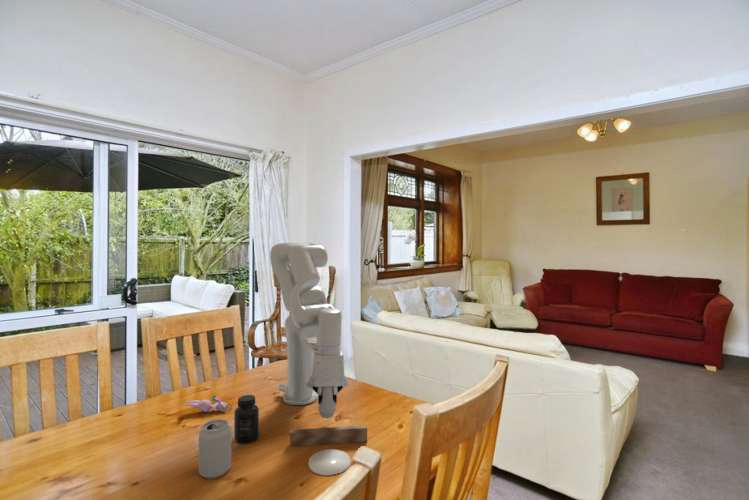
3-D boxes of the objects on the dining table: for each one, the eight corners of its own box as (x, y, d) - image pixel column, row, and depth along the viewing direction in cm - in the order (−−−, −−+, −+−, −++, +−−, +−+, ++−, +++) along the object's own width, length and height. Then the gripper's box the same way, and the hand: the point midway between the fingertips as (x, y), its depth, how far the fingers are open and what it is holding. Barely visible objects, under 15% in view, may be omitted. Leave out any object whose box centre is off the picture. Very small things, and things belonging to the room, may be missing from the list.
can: (205, 463, 99) (205, 417, 98) (234, 461, 99) (234, 416, 99) (193, 481, 91) (193, 432, 91) (225, 480, 92) (225, 431, 92)
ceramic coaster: (300, 470, 96) (300, 469, 96) (319, 448, 106) (319, 446, 106) (341, 478, 93) (341, 477, 93) (356, 454, 103) (356, 453, 103)
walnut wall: (289, 446, 107) (290, 432, 107) (290, 443, 109) (290, 429, 108) (367, 441, 110) (367, 428, 110) (366, 438, 112) (366, 425, 111)
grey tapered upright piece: (338, 411, 123) (339, 372, 122) (334, 420, 117) (335, 379, 116) (320, 410, 123) (321, 370, 122) (315, 418, 117) (316, 377, 117)
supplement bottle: (263, 434, 113) (263, 395, 113) (248, 446, 107) (249, 404, 107) (244, 430, 116) (244, 391, 115) (229, 441, 109) (229, 400, 109)
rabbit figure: (232, 410, 133) (187, 405, 130) (235, 393, 133) (190, 388, 130) (228, 418, 126) (181, 414, 124) (231, 400, 126) (184, 396, 124)
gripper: (301, 353, 114) (300, 412, 115) (355, 352, 116) (354, 410, 117) (302, 345, 121) (301, 401, 122) (353, 344, 124) (352, 399, 125)
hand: (327, 405), depth 120 cm, fingers closed on grey tapered upright piece, 3 cm apart
